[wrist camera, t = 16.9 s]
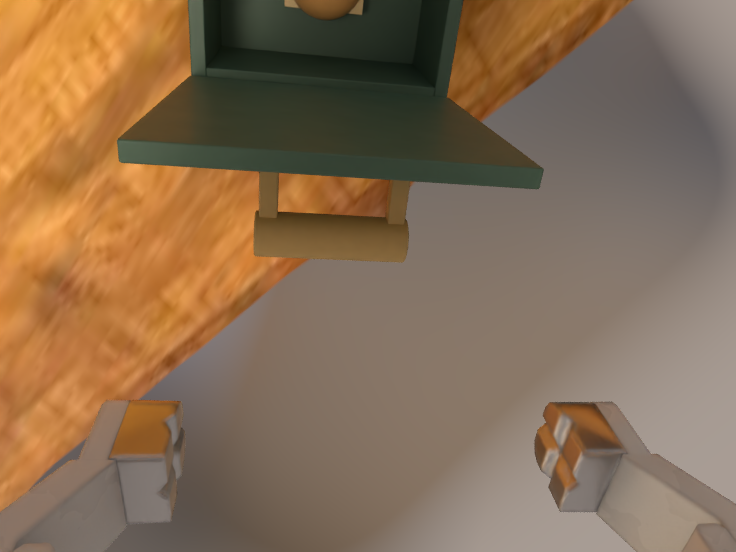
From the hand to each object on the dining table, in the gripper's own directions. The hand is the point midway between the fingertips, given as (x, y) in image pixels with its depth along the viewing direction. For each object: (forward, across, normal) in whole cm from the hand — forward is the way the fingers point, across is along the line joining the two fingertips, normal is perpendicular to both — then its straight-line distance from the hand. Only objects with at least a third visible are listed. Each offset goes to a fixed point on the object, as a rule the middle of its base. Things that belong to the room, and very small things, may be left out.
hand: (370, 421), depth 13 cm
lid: (+17, 0, -3) cm, 17 cm away
